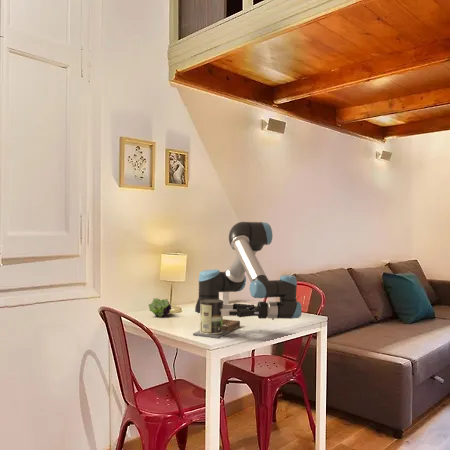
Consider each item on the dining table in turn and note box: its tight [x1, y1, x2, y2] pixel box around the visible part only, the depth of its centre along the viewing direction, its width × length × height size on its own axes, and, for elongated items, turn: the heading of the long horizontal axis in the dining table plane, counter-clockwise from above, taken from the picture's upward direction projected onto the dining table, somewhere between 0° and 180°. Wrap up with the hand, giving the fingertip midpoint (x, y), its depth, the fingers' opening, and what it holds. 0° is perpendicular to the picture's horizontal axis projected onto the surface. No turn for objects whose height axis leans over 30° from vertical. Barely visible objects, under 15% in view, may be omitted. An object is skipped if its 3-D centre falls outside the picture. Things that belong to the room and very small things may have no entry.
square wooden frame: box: [222, 318, 241, 332], centre depth 216 cm, size 14×14×2 cm
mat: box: [192, 330, 230, 339], centre depth 202 cm, size 12×12×1 cm
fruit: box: [148, 297, 172, 318], centre depth 240 cm, size 10×10×15 cm
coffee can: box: [199, 299, 224, 335], centre depth 202 cm, size 10×10×14 cm
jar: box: [219, 292, 230, 304], centre depth 285 cm, size 9×8×12 cm
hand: (220, 309), depth 202 cm, fingers open, 13 cm apart
